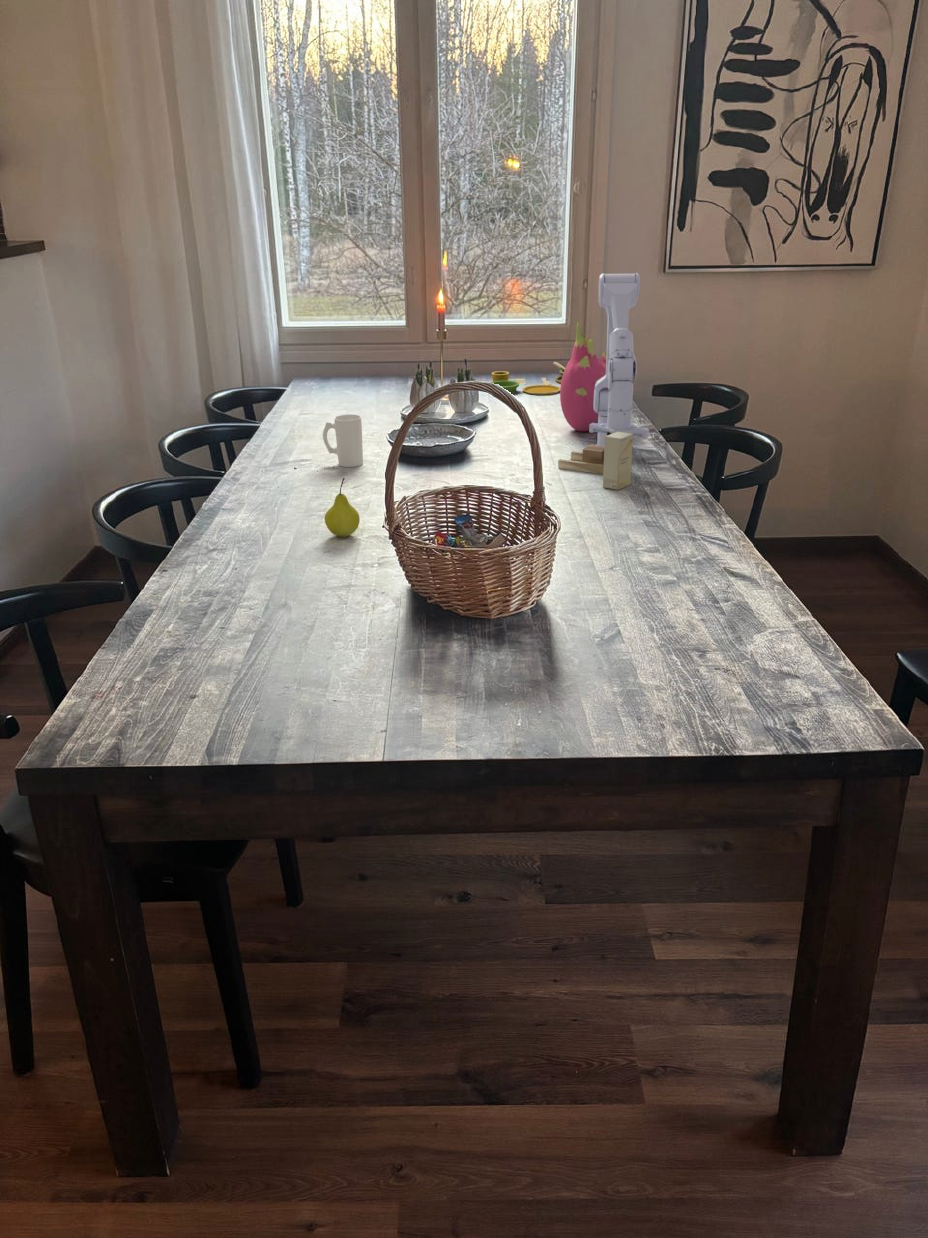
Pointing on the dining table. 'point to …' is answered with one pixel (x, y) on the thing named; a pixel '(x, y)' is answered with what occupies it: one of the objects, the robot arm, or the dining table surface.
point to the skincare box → (617, 460)
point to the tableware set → (511, 386)
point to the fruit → (342, 517)
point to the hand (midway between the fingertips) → (617, 463)
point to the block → (593, 454)
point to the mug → (346, 439)
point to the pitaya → (581, 384)
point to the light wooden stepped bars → (579, 464)
